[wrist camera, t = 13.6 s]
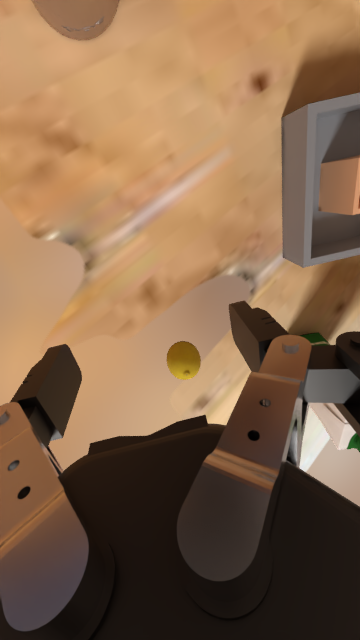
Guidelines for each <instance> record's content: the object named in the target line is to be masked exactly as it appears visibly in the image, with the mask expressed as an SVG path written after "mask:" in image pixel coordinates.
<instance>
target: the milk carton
mask: <svg viewBox="0 0 360 640" xmlns="http://www.w3.org/2000/svg"><path fill="white" fill-rule="evenodd" d="M300 336H301V337H304V338H306V339H307V340H308V341H309V342H310V343H311V345H314V346H324V345H330V344H329V343H328V342H327V341H326V340H325V339H324V338H323V337H322V335H321V334H320V333H313V334H306V335H300ZM309 406H310V408H311V409H312V410H313V412H314V413H315V414H316V416H317V417H318V418H319V420H320V421H321V423H322V424H323V426H324V428H325V429H326V431H327V433H328V434H329V436H330V438H331V439H332V441H333V443H334V444H335V446H336V448H337V449H338V450H342V449H346V448H347V449H351V448H356V449H358V450H359V452H360V437H359V436H358V434H357V433H356V432H355V431H354V429H353V428H352V427H351V426H350V424H349V423H348V422H347V420H346V419H345V418H344V417H343V415H342V414H341V413H340V411H339V410H338V409H337V408H336V406H335V405H334V404H333V403H309Z"/></svg>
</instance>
